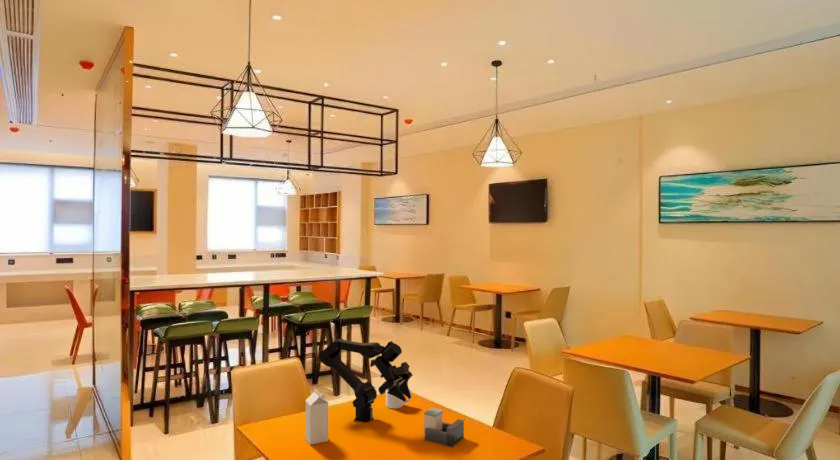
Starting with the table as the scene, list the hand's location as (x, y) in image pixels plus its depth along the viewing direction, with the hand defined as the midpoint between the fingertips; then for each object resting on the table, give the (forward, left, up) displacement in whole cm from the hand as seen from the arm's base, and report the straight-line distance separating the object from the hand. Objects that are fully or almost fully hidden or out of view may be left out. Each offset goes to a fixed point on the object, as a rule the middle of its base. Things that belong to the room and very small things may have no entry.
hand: (407, 399), depth 205 cm
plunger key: (+12, -3, -11) cm, 16 cm away
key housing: (+16, -5, -13) cm, 21 cm away
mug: (-12, +26, -13) cm, 31 cm away
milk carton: (-32, -19, -13) cm, 39 cm away
